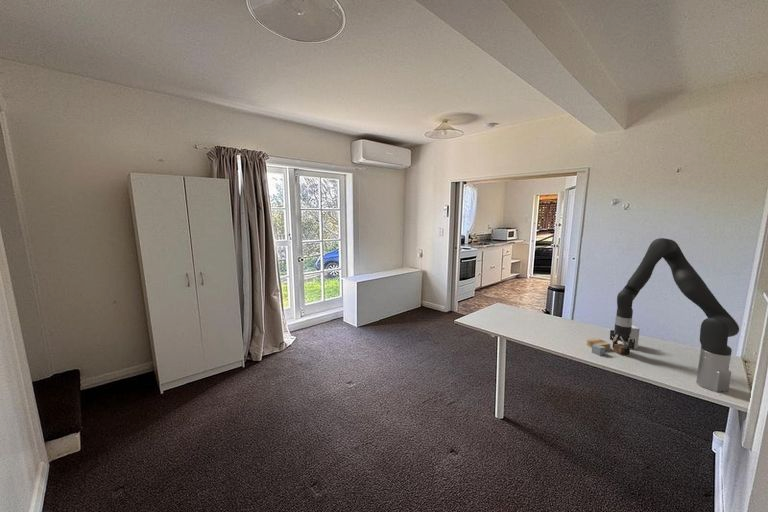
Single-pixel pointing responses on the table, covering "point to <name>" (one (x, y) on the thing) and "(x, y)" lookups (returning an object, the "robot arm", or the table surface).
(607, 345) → the oak base block
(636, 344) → the supplement box
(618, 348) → the walnut cube
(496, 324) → the table surface
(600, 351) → the grey painted cube
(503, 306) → the table surface
